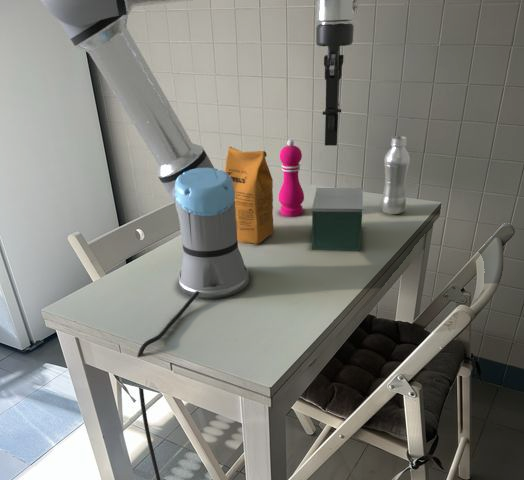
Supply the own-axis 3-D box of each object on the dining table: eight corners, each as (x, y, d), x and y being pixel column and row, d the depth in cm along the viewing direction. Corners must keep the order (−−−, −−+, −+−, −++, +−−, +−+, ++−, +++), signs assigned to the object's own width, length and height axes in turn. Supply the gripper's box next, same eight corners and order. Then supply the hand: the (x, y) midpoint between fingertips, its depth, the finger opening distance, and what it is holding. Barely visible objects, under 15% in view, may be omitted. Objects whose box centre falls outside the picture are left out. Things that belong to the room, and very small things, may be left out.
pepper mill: (300, 218, 148) (299, 143, 137) (275, 216, 150) (273, 142, 139) (306, 209, 154) (307, 136, 142) (283, 207, 156) (281, 136, 145)
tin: (359, 250, 128) (362, 211, 123) (311, 249, 130) (312, 210, 124) (360, 228, 140) (362, 191, 134) (316, 227, 142) (316, 191, 136)
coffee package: (242, 225, 145) (237, 141, 133) (279, 234, 139) (277, 147, 126) (218, 237, 139) (210, 150, 126) (256, 247, 132) (251, 156, 120)
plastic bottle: (406, 216, 146) (415, 140, 134) (382, 217, 146) (388, 141, 135) (402, 208, 151) (410, 134, 140) (378, 209, 151) (384, 135, 140)
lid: (362, 212, 122) (362, 208, 121) (312, 211, 124) (312, 208, 123) (362, 191, 134) (362, 188, 134) (316, 190, 136) (316, 187, 136)
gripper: (353, 24, 101) (346, 152, 114) (354, 20, 112) (348, 138, 125) (313, 25, 102) (311, 151, 116) (319, 21, 113) (316, 138, 126)
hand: (330, 144), depth 120 cm, fingers closed
